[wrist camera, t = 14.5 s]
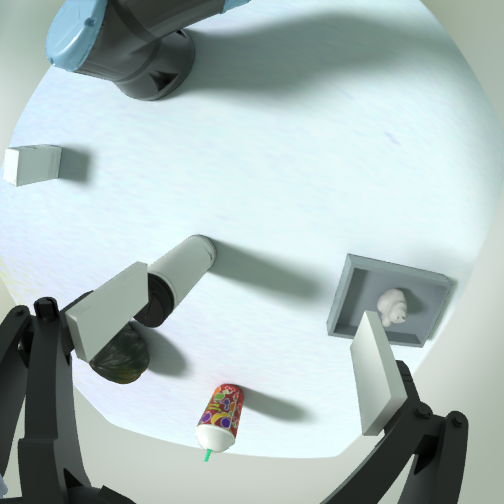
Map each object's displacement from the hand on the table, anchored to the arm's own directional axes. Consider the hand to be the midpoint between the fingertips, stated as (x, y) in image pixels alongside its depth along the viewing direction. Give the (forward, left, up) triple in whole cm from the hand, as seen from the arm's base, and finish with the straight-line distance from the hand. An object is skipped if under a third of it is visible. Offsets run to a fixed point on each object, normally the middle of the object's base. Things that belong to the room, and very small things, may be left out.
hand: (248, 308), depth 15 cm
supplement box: (-5, -53, -29) cm, 61 cm away
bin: (+11, +21, -29) cm, 37 cm away
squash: (+35, -30, -29) cm, 54 cm away
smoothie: (+42, -4, -29) cm, 51 cm away
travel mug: (+9, -13, -29) cm, 33 cm away
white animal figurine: (+11, +21, -28) cm, 37 cm away
